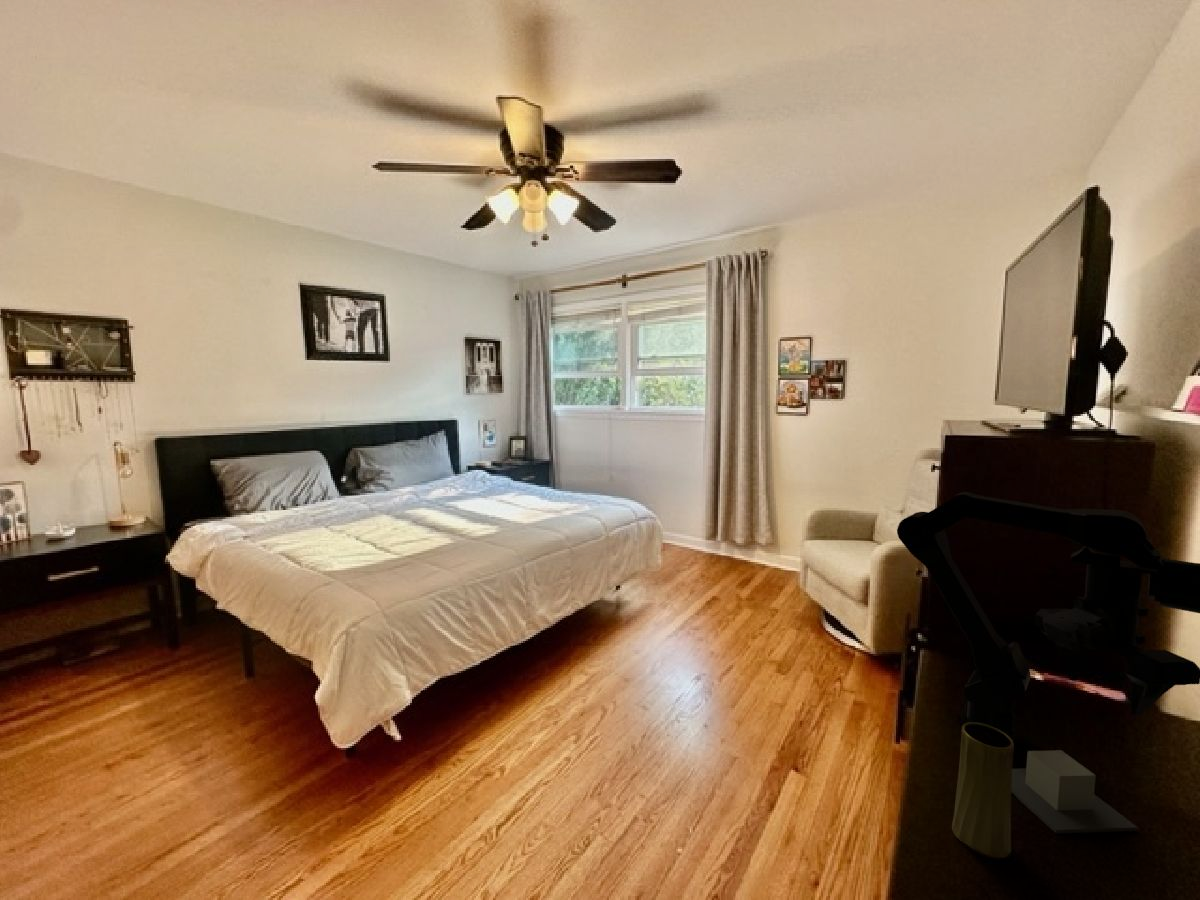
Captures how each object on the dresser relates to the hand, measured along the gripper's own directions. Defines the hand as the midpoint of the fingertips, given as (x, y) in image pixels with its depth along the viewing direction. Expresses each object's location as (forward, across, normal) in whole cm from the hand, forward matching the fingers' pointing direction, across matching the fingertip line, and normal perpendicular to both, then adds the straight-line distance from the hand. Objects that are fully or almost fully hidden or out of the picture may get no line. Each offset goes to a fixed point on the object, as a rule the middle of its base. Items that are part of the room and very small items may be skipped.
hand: (1102, 696), depth 75 cm
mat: (+12, +5, -11) cm, 17 cm away
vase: (+12, +11, -27) cm, 32 cm away
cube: (+12, +5, -11) cm, 17 cm away
